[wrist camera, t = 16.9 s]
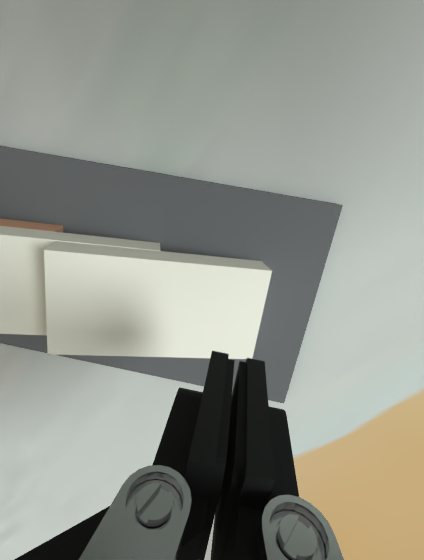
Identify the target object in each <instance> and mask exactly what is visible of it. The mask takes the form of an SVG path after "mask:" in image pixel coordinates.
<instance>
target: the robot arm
mask: <svg viewBox="0 0 424 560" xmlns="http://www.w3.org/2000/svg"><path fill="white" fill-rule="evenodd" d="M228 356H229V354H227V353H222V352H217V351H212V353H211V358H210V362H209V367H208V371H207V376H206V381H205V385H204V390H203V392H198V391H193V390H189V389H184V388H179V389H178V392H177V395H176V397H175V400H174V403H173V406H172V409H171V412H170V415H169V418H168V421H167V424H166V427H165V430H164V433H163V436H162V439H161V442H160V445H159V448H158V451H157V454H156V457H155V460H154V462H153V465H152V466H147V467H144V468H141V469H139V470H137V471H136V472H135V473H133V474H132V475H130V476H129V478H128V479H127V480H126V481H125V483H124V484H123V485H122V487H121V489H120V490H119V492H118V494H117V495H116V497H115V499H114V500H113V502H112V504H111V506H109V507H107V508H106V509H104V510H102V511H100V512H98V513H97V514H95V515H93V516H91V517H90V518H88V519H86V520H84V521H82V522H81V523H79V524H77V525H75V526H73V527H72V528H70V529H68V530H66V531H65V532H63V533H61V534H59V535H57V536H56V537H54V538H52V539H50V540H49V541H47V542H45V543H43V544H41V545H40V546H38V547H36V548H34V549H33V550H31V551H29V552H27V553H25V554H24V555H22V556H20V557H18V558H17V559H15V560H204V557H205V553H206V549H207V545H208V540H209V536H210V532H211V528H212V524H213V519H214V515H215V521H214V530H213V540H212V550H211V560H344V559H343V556H342V554H341V551H340V548H339V545H338V543H337V540H336V537H335V535H334V532H333V530H332V528H331V526H330V524H329V523H328V521H327V520H326V518H325V517H324V516H323V515H322V513H321V512H320V511H319V510H318V509H317V508H315V507H314V506H313V505H312V504H311V503H309V502H307V501H305V500H304V499H302V498H300V497H299V494H298V487H297V481H296V475H295V468H294V461H293V455H292V449H291V442H290V436H289V429H288V423H287V416H286V412H285V411H284V410H282V409H278V408H273V407H268V395H267V383H266V371H265V362H264V361H261V360H256V359H251V358H247V359H246V362H243V361H240V362H239V365H238V370H237V374H236V379H235V383H234V388H233V392H232V386H233V374H234V362H235V360H233V359H228Z"/></svg>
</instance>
